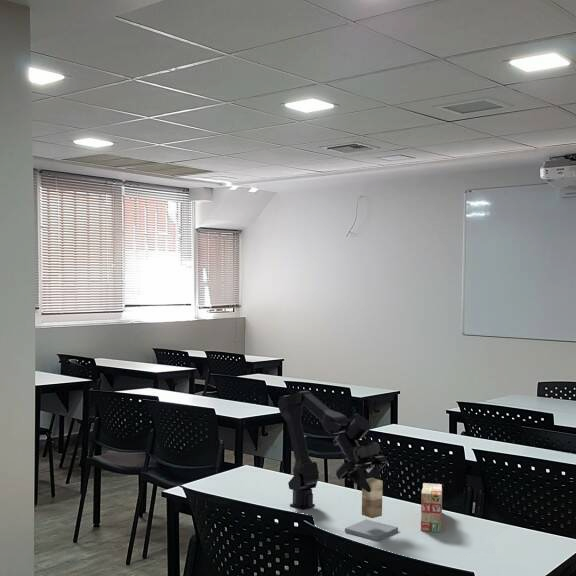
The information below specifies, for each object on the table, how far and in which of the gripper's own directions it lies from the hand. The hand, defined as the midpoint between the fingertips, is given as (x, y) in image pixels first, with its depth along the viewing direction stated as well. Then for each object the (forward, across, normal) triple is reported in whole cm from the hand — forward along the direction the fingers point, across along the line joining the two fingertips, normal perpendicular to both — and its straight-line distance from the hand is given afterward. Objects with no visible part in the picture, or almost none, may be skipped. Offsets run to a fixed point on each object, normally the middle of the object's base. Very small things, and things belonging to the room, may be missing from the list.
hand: (375, 490), depth 226 cm
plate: (+8, 0, +10) cm, 13 cm away
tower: (+5, 0, +7) cm, 8 cm away
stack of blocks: (+12, +23, +7) cm, 27 cm away
